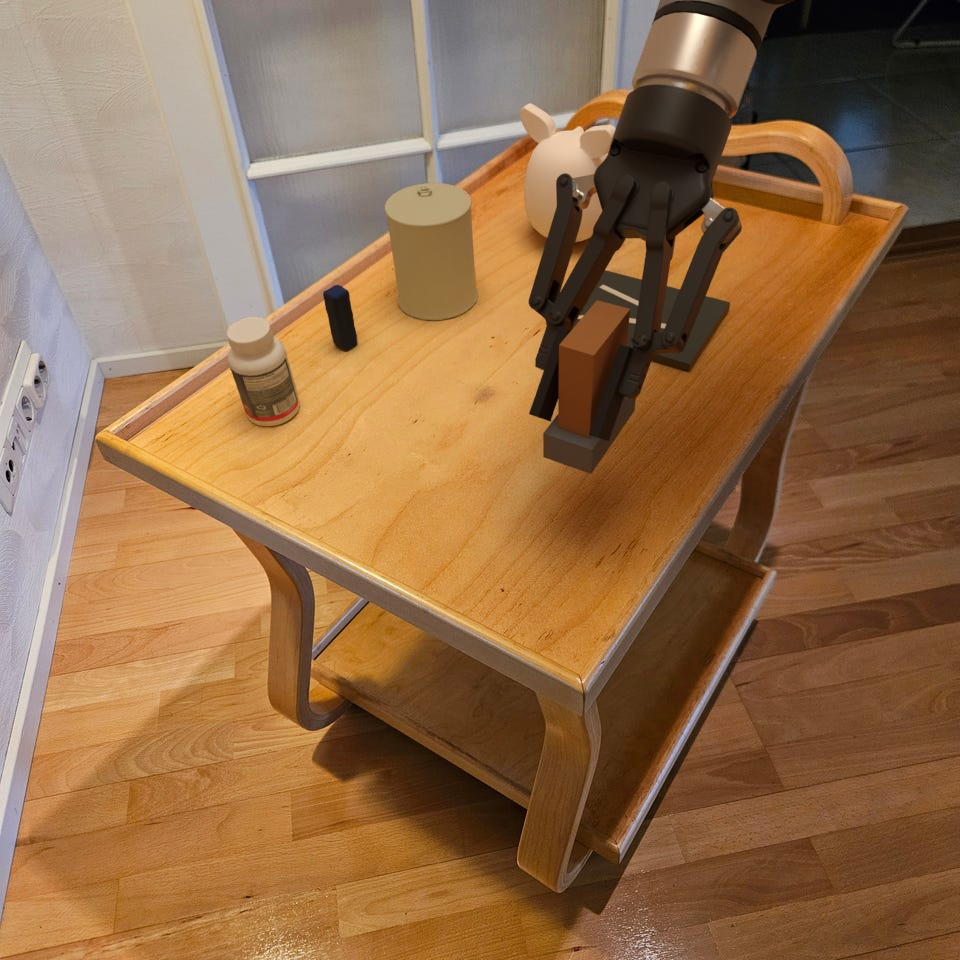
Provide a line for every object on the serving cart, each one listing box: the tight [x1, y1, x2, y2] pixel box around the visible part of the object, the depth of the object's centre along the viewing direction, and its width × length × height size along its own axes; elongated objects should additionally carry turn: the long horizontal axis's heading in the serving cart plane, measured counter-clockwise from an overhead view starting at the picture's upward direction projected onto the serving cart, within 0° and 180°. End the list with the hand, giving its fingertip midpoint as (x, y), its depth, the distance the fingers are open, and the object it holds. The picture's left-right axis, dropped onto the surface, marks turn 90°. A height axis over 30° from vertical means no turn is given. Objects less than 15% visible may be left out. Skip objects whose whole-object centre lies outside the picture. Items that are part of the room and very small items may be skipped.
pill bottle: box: [226, 316, 301, 427], centre depth 79 cm, size 5×5×10 cm
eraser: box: [322, 284, 358, 352], centre depth 87 cm, size 2×2×7 cm
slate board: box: [573, 269, 731, 372], centre depth 89 cm, size 16×12×1 cm
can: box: [384, 182, 479, 321], centre depth 90 cm, size 9×9×12 cm
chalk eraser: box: [542, 300, 637, 475], centre depth 61 cm, size 4×8×10 cm, turn 149°
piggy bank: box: [519, 102, 616, 243], centre depth 97 cm, size 12×12×15 cm
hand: (569, 427), depth 59 cm, fingers closed on chalk eraser, 4 cm apart
